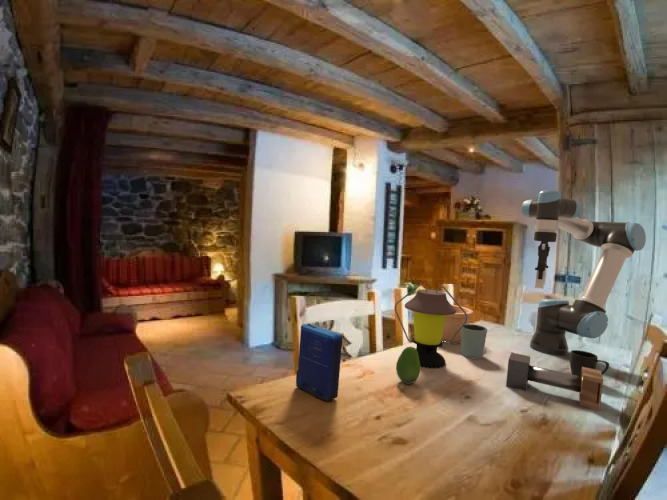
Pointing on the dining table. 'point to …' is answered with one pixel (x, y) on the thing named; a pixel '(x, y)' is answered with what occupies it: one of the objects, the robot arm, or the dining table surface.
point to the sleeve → (518, 371)
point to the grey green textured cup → (473, 340)
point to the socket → (591, 388)
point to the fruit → (408, 365)
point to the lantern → (429, 324)
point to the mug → (584, 362)
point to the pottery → (455, 324)
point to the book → (319, 361)
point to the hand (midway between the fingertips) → (540, 286)
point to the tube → (555, 378)
